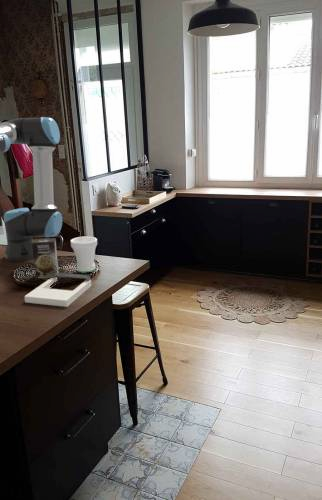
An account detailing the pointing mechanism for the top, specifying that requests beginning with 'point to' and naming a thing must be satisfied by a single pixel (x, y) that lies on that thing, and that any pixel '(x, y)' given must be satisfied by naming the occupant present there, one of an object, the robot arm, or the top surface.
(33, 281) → the top surface
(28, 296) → the white rectangular frame
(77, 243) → the cup
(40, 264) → the grey rectangular box
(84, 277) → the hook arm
